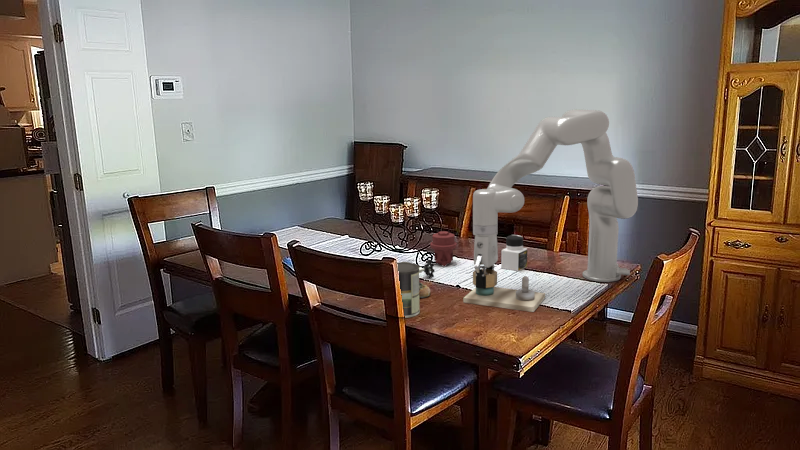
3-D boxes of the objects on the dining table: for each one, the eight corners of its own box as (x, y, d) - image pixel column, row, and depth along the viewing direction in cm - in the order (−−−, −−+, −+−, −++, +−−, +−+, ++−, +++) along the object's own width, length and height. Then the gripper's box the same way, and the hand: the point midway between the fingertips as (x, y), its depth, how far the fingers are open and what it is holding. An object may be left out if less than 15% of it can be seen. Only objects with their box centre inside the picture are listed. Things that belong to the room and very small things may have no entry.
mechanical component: (456, 260, 240) (457, 267, 230) (430, 260, 240) (430, 267, 230) (455, 229, 237) (457, 235, 227) (429, 229, 237) (430, 235, 228)
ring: (499, 282, 197) (499, 270, 196) (492, 288, 191) (492, 276, 190) (478, 279, 200) (478, 268, 199) (470, 286, 194) (470, 273, 193)
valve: (402, 284, 212) (434, 280, 215) (402, 266, 210) (434, 262, 214) (396, 279, 218) (427, 275, 222) (395, 261, 216) (427, 257, 220)
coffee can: (396, 320, 178) (395, 273, 175) (379, 310, 187) (378, 265, 184) (426, 313, 183) (426, 267, 180) (408, 304, 192) (407, 260, 189)
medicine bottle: (518, 271, 223) (519, 239, 220) (500, 268, 227) (501, 236, 225) (527, 266, 229) (528, 235, 226) (510, 264, 233) (510, 233, 230)
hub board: (545, 297, 194) (545, 271, 193) (533, 312, 182) (534, 284, 180) (478, 289, 204) (478, 264, 202) (463, 302, 192) (463, 276, 190)
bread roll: (391, 297, 198) (392, 281, 198) (405, 291, 209) (406, 276, 208) (423, 302, 194) (424, 286, 193) (436, 296, 204) (437, 281, 204)
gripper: (487, 236, 182) (487, 294, 186) (505, 224, 197) (504, 278, 201) (463, 234, 185) (464, 291, 189) (482, 222, 201) (482, 275, 204)
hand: (485, 283), depth 195 cm, fingers closed on ring, 7 cm apart
